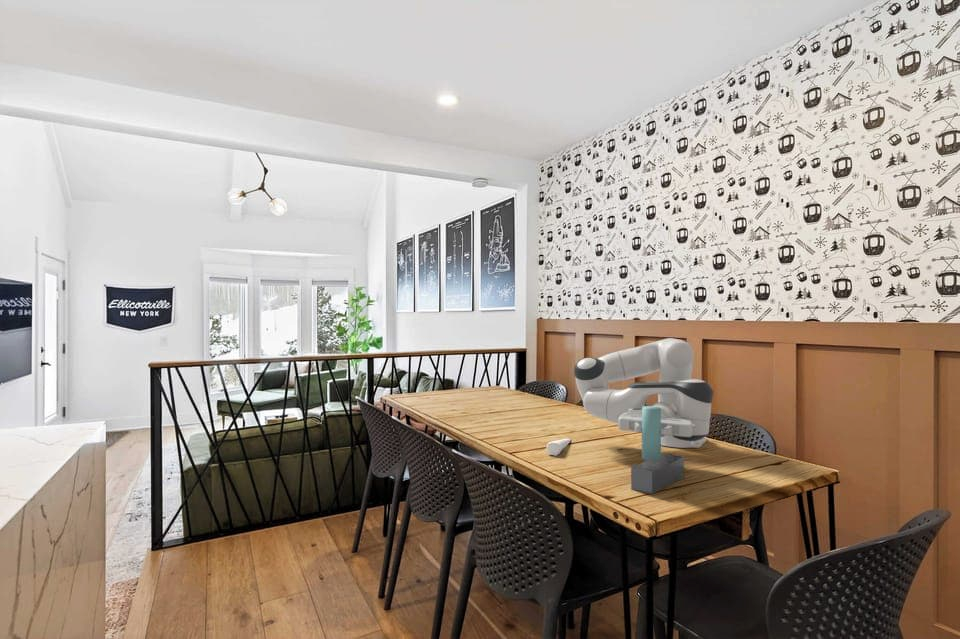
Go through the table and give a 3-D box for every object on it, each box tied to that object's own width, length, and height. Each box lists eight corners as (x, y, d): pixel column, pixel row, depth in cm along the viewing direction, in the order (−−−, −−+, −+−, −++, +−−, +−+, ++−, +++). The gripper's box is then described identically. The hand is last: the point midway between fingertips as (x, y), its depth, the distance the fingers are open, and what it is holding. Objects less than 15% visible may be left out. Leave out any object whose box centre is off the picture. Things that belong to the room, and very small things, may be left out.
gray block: (664, 472, 148) (664, 452, 148) (684, 477, 143) (684, 456, 143) (631, 488, 134) (631, 467, 134) (652, 494, 129) (652, 471, 129)
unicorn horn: (580, 441, 186) (580, 429, 186) (559, 457, 165) (559, 443, 165) (568, 440, 188) (568, 427, 188) (545, 455, 167) (545, 441, 167)
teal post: (642, 454, 139) (642, 405, 139) (661, 456, 137) (661, 406, 137) (640, 459, 134) (641, 408, 134) (660, 461, 132) (660, 410, 132)
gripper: (695, 435, 142) (691, 447, 130) (624, 428, 152) (614, 438, 140) (695, 414, 142) (691, 423, 130) (624, 408, 152) (614, 416, 139)
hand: (650, 430), depth 135 cm, fingers closed on teal post, 5 cm apart
